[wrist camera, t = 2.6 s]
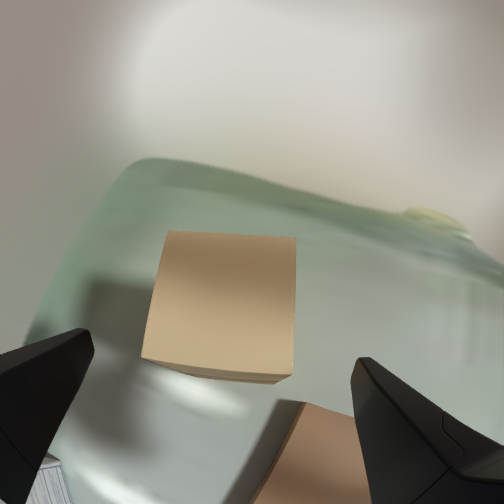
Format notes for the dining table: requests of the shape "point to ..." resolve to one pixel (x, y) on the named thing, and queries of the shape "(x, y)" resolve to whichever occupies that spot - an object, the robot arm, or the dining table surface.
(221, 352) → the oak pillar
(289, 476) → the walnut slab
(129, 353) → the dining table surface
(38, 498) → the medicine box
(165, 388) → the dining table surface
